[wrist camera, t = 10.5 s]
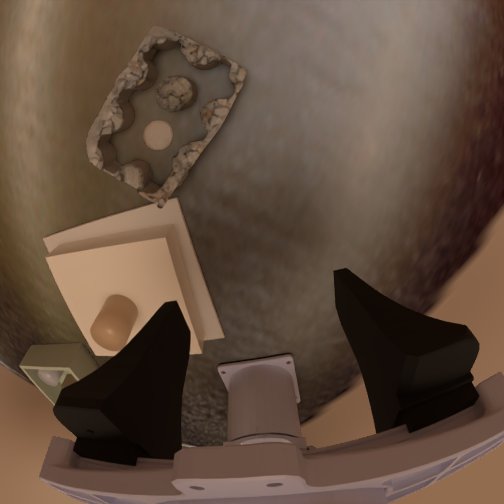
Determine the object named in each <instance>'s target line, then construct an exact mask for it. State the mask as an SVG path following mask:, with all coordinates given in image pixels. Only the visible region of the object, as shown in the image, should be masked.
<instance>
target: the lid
mask: <svg viewBox="0 0 504 504" xmlns="http://www.w3.org/2000/svg"><path fill="white" fill-rule="evenodd" d="M45 258H46V260H47V262H48V265H49V267H50V269H51V272H52V274H53V276H54V278H55V281H56V283H57V285H58V287H59V289H60V291H61V293H62V295H63V297H64V299H65V301H66V303H67V305H68V307H69V309H70V311H71V313H72V315H73V317H74V319H75V320H76V322H77V324H78V326H79V328H80V329H81V331H82V333H83V335H84V336H85V338H86V340H87V342H88V343H89V345H90V347H91V348H92V350H93V352H94V353H95V355H96V356H115V355H116V354H117V353H118V352H119V351H120V350H122V349H123V348H124V347H125V346H126V345H127V344H128V343H129V342H130V341H131V340H132V338H133V337H134V336H135V335H136V334H137V333H138V332H139V331H140V330H141V329H142V328H143V326H144V325H145V324H146V323H147V322H148V321H149V320H150V318H151V317H152V316H153V315H154V314H155V312H156V311H157V310H158V309H159V308H160V307H161V306H162V305H163V304H164V303H165V302H169V301H175V300H177V302H178V304H179V307H180V309H181V311H182V314H183V316H184V318H185V320H186V322H187V325H188V327H189V329H190V331H191V344H190V354H202V351H203V344H204V336H205V334H204V331H203V328H202V324H201V321H200V318H199V315H198V311H197V308H196V305H195V301H194V298H193V295H192V291H191V288H190V284H189V281H188V277H187V274H186V270H185V267H184V263H183V259H182V256H181V252H180V248H179V244H178V240H177V237H176V233H175V229H174V225H173V224H167V225H161V226H155V227H149V228H143V229H137V230H131V231H125V232H120V233H114V234H109V235H103V236H98V237H92V238H87V239H82V240H77V241H72V242H67V243H62V244H59V245H58V246H57V247H56V248H55V249H53V250H52V251H51V252H50V253H49V254H48V255H47V256H46V257H45Z"/></svg>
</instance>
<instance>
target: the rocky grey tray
mask: <svg viewBox="0 0 504 504" xmlns="http://www.w3.org/2000/svg"><path fill="white" fill-rule="evenodd" d="M179 44H181V48H180V50H181V52H182V53H183V54H184V55H185V57H186V59H187V61H188V62H189V63H190V64H192V65H194V66H195V67H197V68H199V69H203V70H206V69H207V70H208V69H212V68H214V67H216V66H217V65H218V64H219V63H221V62H223V63H225V64H226V65H228V66H230V67H231V68H230V72H229V77H230V80H231V82H232V84H233V85H234V86H235V91H234V94H233V96H232V97H231V98H230V99H216V100H213V101H211V102H210V103H208V104H207V105H206V106H205V107H203V108H202V109H201V112H200V114H201V118H202V123H203V126H204V128H205V129H206V130H207V131H208V135H207V136H206V138H205V139H204V140H201V141H194V142H191V143H189V144H187V145H186V146H183V147H181V148H180V149H179V150H178V154H177V155H175V156H174V157H173V158H172V168H173V171H172V173H171V174H170V176H169V177H168V179H167V180H166V181H165V183H164V184H163V186H162V187H160V186H158V185H157V184H155V183H153V182H152V175H153V174H152V169H151V167H150V165H149V164H148V163H146V162H145V161H142V160H134V161H132V162H129V163H128V164H126V165H124V166H122V165H120V164H119V163H117V162H116V151H115V148H114V147H113V145H112V144H110V142H109V139H110V137H111V135H112V134H113V133H117V132H121V131H124V130H126V129H128V128H129V127H130V126H131V125H132V124H133V121H134V117H135V112H134V109H133V107H132V106H131V104H130V103H129V102H128V100H129V98H130V96H131V94H132V92H133V91H134V90H145V89H148V88H149V87H151V86H152V85H153V84H154V82H155V81H156V79H157V75H158V71H157V68H156V66H155V64H154V63H153V62H152V61H151V60H152V58H153V56H154V54H155V53H156V51H157V50H164V51H165V50H170V49H172V48H174V47H176V46H177V45H179ZM246 74H247V70H246V69H244V68H242V67H241V66H239V65H238V64H236V63H234V62H233V61H231V60H229V59H227V58H225V57H224V56H221V55H219V54H217V53H216V52H214V51H213V50H211V49H209V48H207V47H205V46H203V45H201V44H199V43H197V42H195V41H193V40H191V39H189V38H186V37H184V36H183V35H181V34H178V33H176V32H173V31H171V30H168V29H165V28H162V27H158V26H153V27H152V28H151V29H150V31H149V32H148V34H147V35H146V37H145V38H144V40H143V41H142V43H141V44H140V46H139V47H138V50H137V52H136V54H135V55H134V57H133V58H132V60H131V61H129V62H128V65H127V68H126V69H125V70H124V71H123V72H122V73H121V74H120V75H119V76H118V78H117V80H116V82H115V84H114V86H113V88H112V90H111V92H110V94H109V95H108V97H107V99H106V101H105V103H104V105H103V108H102V109H101V111H100V113H99V114H98V116H97V118H96V120H95V121H94V123H93V125H92V127H91V129H90V131H89V133H88V136H87V139H86V147H87V152H88V157H89V161H90V162H91V163H92V164H93V165H95V166H96V167H98V168H99V169H100V170H103V171H105V172H107V173H109V174H110V175H112V176H113V177H115V179H117V180H119V181H124V182H126V183H128V184H129V185H131V186H133V187H134V188H136V189H137V192H138V193H139V194H140V195H141V196H143V197H144V198H146V199H148V200H149V201H152V202H153V203H154V204H156V205H157V207H158V208H160V209H161V208H163V206H164V205H165V204H166V202H167V201H168V199H169V197H170V195H171V194H172V192H173V191H174V190H175V188H176V187H179V186H181V184H182V183H183V181H184V180H185V178H186V177H187V175H188V173H189V172H188V170H189V169H190V168H191V167H192V166H193V164H194V163H195V161H196V160H197V158H198V157H199V155H200V154H201V152H202V151H203V149H204V148H205V147H206V146H207V144H208V143H209V142H210V141H211V139H212V138H213V137H214V135H215V134H216V133H217V131H218V130H219V128H220V127H221V125H222V124H223V122H224V120H225V118H226V116H227V114H228V112H229V110H230V109H231V107H232V105H233V103H234V101H235V98H236V96H237V94H238V92H239V91H240V89H241V88H242V86H243V80H244V78H245V76H246ZM194 83H195V82H194ZM194 83H193V81H190V80H188V79H186V78H184V77H181V76H170V77H168V78H166V79H165V80H163V81H161V82H160V83H159V84H158V85H157V87H156V100H157V103H158V105H159V106H160V107H161V108H163V109H165V110H167V111H170V112H171V111H175V112H176V111H178V110H183V109H186V108H188V107H190V106H191V105H193V103H194V102H195V101H196V98H197V88H196V86H195V84H194ZM143 138H144V141H145V144H146V145H147V146H148V147H149V148H151V149H153V150H163V149H165V148H167V147H168V146H169V145H170V144H171V142H172V139H173V130H172V127H171V126H170V124H169V123H167V122H166V121H163V120H155V121H153V122H151V123H150V124H149V125H148V126H147V127H146V128H145V130H144V133H143Z"/></svg>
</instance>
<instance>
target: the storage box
mask: <svg viewBox="0 0 504 504" xmlns="http://www.w3.org/2000/svg"><path fill="white" fill-rule="evenodd" d="M19 366H20V367H21V369H22V370H23V371H24V372H25V373H26V375H27V376H28V377H29V378H30V379H31V381H32V382H33V383H34V384H35V385H36V386H37V387H38V388H39V390H40V391H41V392H42V393H43V394H44V395H45V396H46V397H47V398H48V399H49V400H50V401H51V402H52V403H53V404H54V406H55V403H56V401H57V399H58V396H59V394H60V392H61V390H62V388H64V387H67V386H69V385H71V384H73V383H75V382H77V381H79V380H80V379H82V378H84V377H86V376H87V375H89V374H90V373H92V372H94V371H95V370H97V369H98V368H99V366H98V364H97V363H96V362H95V360H94V359H93V357H92V356H91V355H90V353H89V352H88V350H87V349H86V348H85V346H84V345H83V343H70V344H47V345H31V347H30V348H29V350H28V352H27V353H26V355H25V356H24V358H23V360H22V361H21V363H20V365H19Z"/></svg>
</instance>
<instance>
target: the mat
mask: <svg viewBox="0 0 504 504" xmlns="http://www.w3.org/2000/svg"><path fill="white" fill-rule="evenodd" d="M167 224H173V225H174V229H175V233H176V237H177V240H178V244H179V248H180V252H181V256H182V259H183V263H184V267H185V270H186V274H187V277H188V281H189V284H190V288H191V291H192V295H193V298H194V301H195V305H196V308H197V311H198V315H199V318H200V321H201V324H202V328H203V331H204V334H205V336H204V340H212V339H219V338H225V334H224V331H223V329H222V326H221V323H220V320H219V318H218V315H217V312H216V310H215V307H214V304H213V301H212V298H211V296H210V293H209V290H208V287H207V284H206V281H205V278H204V276H203V273H202V270H201V267H200V264H199V261H198V258H197V255H196V252H195V249H194V246H193V243H192V240H191V237H190V234H189V231H188V227H187V224H186V221H185V218H184V215H183V212H182V208H181V205H180V202H179V199H178V196H177V197H173V198H169V199H168V201H167V202H166V204H165V205H164V206H163V208H161V209H160V208H158V207H157V205H156V204H154V203H151V204H147V205H143V206H140V207H136V208H133V209H129V210H126V211H123V212H119V213H116V214H112V215H109V216H106V217H103V218H99V219H96V220H93V221H90V222H87V223H84V224H81V225H78V226H75V227H72V228H69V229H66V230H63V231H60V232H57V233H54V234H51V235H48V236H46V237H44V238H43V240H44V242H45V245H46V247H47V249H48V251H49V253H50V252H51V251H52V250H53V249H55V248H56V247H57V246H58V245H59V244H62V243H67V242H72V241H77V240H82V239H87V238H92V237H98V236H103V235H109V234H114V233H120V232H125V231H131V230H137V229H143V228H149V227H155V226H161V225H167Z"/></svg>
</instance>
